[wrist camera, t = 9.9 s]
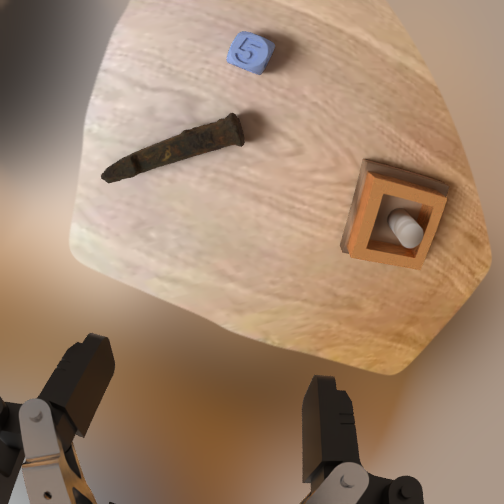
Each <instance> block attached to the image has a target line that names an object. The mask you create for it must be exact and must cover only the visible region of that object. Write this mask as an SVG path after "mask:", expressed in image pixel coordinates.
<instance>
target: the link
mask: <svg viewBox="0 0 504 504" xmlns="http://www.w3.org/2000/svg"><path fill="white" fill-rule="evenodd" d="M383 194H387V195H391V196H395V197H399V198H403V199H407V200H411V201H414V202H418V203H422V207H421V210H420V213H419V216H418V219H417V223H418V224H419V226H420V227H421V228H422V230H423V239H422V241H421V242H420V244H419V245H417V246H416V247H414V248H406V247H404V246H400V245H395V244H390V243H385V242H380V241H375V240H370V239H369V238H370V235H371V232H372V229H373V226H374V223H375V220H376V216H377V213H378V210H379V206H380V203H381V200H382V196H383ZM446 201H447V198H446V197H445V196H444V195H442V194H441V193H440V192H438V191H437V190H434V189H431V188H428V187H424V186H421V185H418V184H414V183H411V182H407V181H404V180H400V179H396V178H393V177H389V176H385V175H381V174H377V173H374V172H370V171H367V175H366V179H365V183H364V187H363V190H362V194H361V198H360V201H359V205H358V208H357V212H356V216H355V219H354V222H353V226H352V229H351V233H350V236H349V239H348V243H347V249H348V251H349V254H350V257H351V258H356V259H361V260H367V261H373V262H378V263H384V264H390V265H395V266H401V267H406V268H412V269H417V270H421V267H422V265H423V262H424V260H425V258H426V255H427V253H428V250H429V248H430V245H431V243H432V240H433V238H434V235H435V232H436V230H437V227H438V224H439V222H440V219H441V216H442V213H443V210H444V207H445V204H446Z"/></svg>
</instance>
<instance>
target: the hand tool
mask: <svg viewBox="0 0 504 504" xmlns="http://www.w3.org/2000/svg"><path fill="white" fill-rule="evenodd" d="M244 143H245V142H244V135H243V131H242V127H241V124H240V121H239V118H237V116H236V115H235V114H234V113H230V114H229V115H228V116H227V117H226V118H225V119H219V120H218V121H217V122H215V123H210V124H207V125H203V126H200V127H195V128H192V129H190V130H184V131H183V132H182V133H181V134H179V135H177V136H174V137H172V138H169V139H167V140H164V141H162V142H160V143H157V144H154V145H152V146H149V147H147V148H144V149H141V150H140V151H137V152H134V153H132V154H131V155H129V156H127V157H124V158H122V159H120V160H119V161H117V162H116V163H114V164H112V165H111V166H109V167H108V168H107V169H106V170H105V171H104V173H102V175H101V178H102V179H103V180H105V181H106V182H107V183H112V182H116V181H120V180H122V179H126V178H131V177H134V176H136V175H137V174H139V173H143V172H146V171H149V170H151V169H154V168H157V167H160V166H164V165H167V164H171V163H174V162H177V161H180V160H183V159H187V158H190V157H193V156H196V155H200V154H203V153H207V152H210V151H214V150H218V149H221V148H223V147H226V146H230V145H238V146H241V147H242V146H243V145H244Z"/></svg>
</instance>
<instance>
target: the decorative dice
mask: <svg viewBox="0 0 504 504" xmlns="http://www.w3.org/2000/svg"><path fill="white" fill-rule="evenodd" d="M274 48H275V44H274V43H273V42H271V41H270V40H268V39H266V38H263V37H261V36H259V35H256V34H253V33H250V32H246V31H242V32H240V33H239V34H238V35H237V36H236V37H235V39H234V41H233V42H232V44H231V47H230V49H229V52H228V55H227V62H228V63H230V64H232V65H235V66H237V67H239V68H242V69H245V70H247V71H250V72H252V73H255V74H258V75H261V74H262V73H263V71H264V69H265V67H266V66H267V64H268V62H269V60H270V58H271V55H272V53H273V51H274Z"/></svg>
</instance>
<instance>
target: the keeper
mask: <svg viewBox="0 0 504 504" xmlns="http://www.w3.org/2000/svg"><path fill="white" fill-rule="evenodd" d="M367 171H370V172H374V173H377V174H381V175H385V176H389V177H393V178H396V179H400V180H404V181H407V182H411V183H414V184H418V185H421V186H424V187H428V188H431V189H434V190H437V191H438V192H440V193H441V194H442V195H444V196H445V197H446V196H447V193H448V189H449V186H448V185H447V184H445V183H444V182H441V181H438V180H435V179H432V178H429V177H426V176H423V175H419V174H416V173H413V172H410V171H406V170H403V169H399V168H396V167H392V166H388V165H385V164H381V163H377V162H373V161H370V160H366V159H363V161H362V166H361V170H360V174H359V178H358V182H357V186H356V189H355V193H354V197H353V201H352V204H351V208H350V212H349V215H348V219H347V223H346V226H345V230H344V233H343V236H342V240H341V243H340V247H341V250H342V252H343V253H348V254H349V251H348V249H347V243H348V239H349V236H350V233H351V229H352V226H353V222H354V219H355V216H356V212H357V208H358V205H359V201H360V198H361V194H362V190H363V187H364V183H365V179H366V175H367ZM421 207H422V203H418V202H414V201H411V200H407V199H403V198H399V197H395V196H391V195H387V194H383V196H382V200H381V203H380V206H379V210H378V213H377V216H376V220H375V223H374V226H373V229H372V232H371V235H370V238H369V239H370V240H375V241H380V242H385V243H390V244H395V245H400V246H404V247H406V248H414V247H416V246H417V245H419V244H420V242H421V241H422V239H423V230H422V228H421V227H420V226H419V224H418V223H417V219H418V216H419V213H420V210H421Z"/></svg>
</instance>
